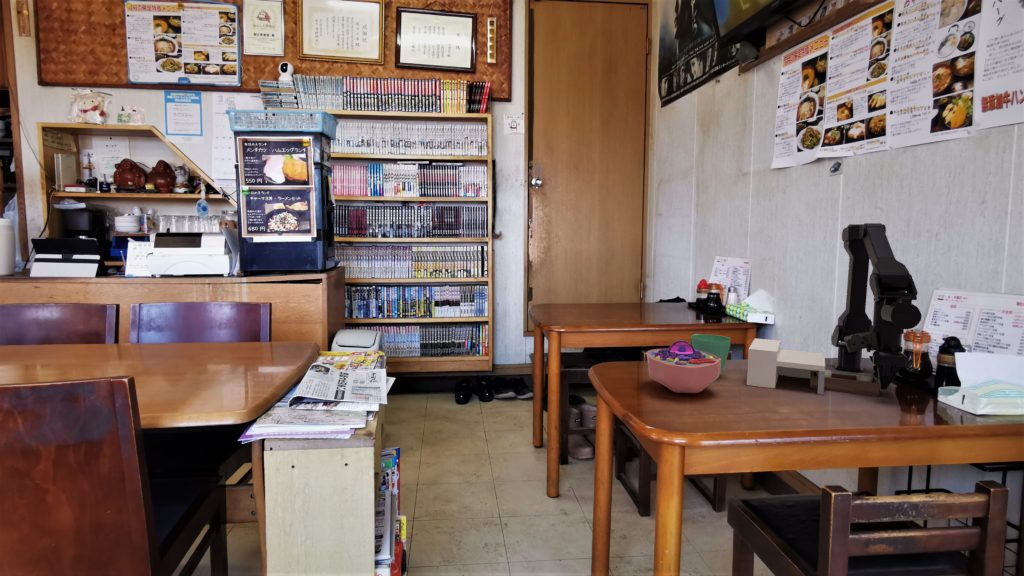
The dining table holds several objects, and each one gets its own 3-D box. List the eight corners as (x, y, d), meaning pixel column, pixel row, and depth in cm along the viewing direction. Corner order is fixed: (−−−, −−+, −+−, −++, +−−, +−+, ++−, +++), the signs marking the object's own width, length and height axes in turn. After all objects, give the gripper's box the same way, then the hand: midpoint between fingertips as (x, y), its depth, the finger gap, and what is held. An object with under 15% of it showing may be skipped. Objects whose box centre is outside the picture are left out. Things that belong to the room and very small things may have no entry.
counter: (753, 371, 152) (754, 338, 151) (822, 379, 145) (824, 344, 144) (746, 384, 138) (748, 348, 137) (823, 394, 130) (825, 356, 130)
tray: (810, 382, 141) (811, 366, 141) (876, 390, 135) (877, 373, 134) (810, 388, 136) (811, 371, 136) (878, 396, 129) (880, 379, 129)
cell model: (641, 398, 126) (643, 348, 125) (647, 377, 145) (649, 333, 144) (722, 406, 121) (724, 354, 120) (717, 382, 140) (719, 338, 139)
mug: (736, 379, 143) (738, 341, 142) (700, 380, 142) (702, 341, 141) (709, 366, 157) (710, 331, 156) (675, 367, 156) (677, 331, 155)
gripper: (844, 315, 142) (841, 376, 143) (849, 325, 126) (846, 394, 127) (897, 318, 137) (894, 381, 138) (910, 329, 120) (905, 400, 122)
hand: (883, 389), depth 131 cm, fingers closed, pressing on tray
